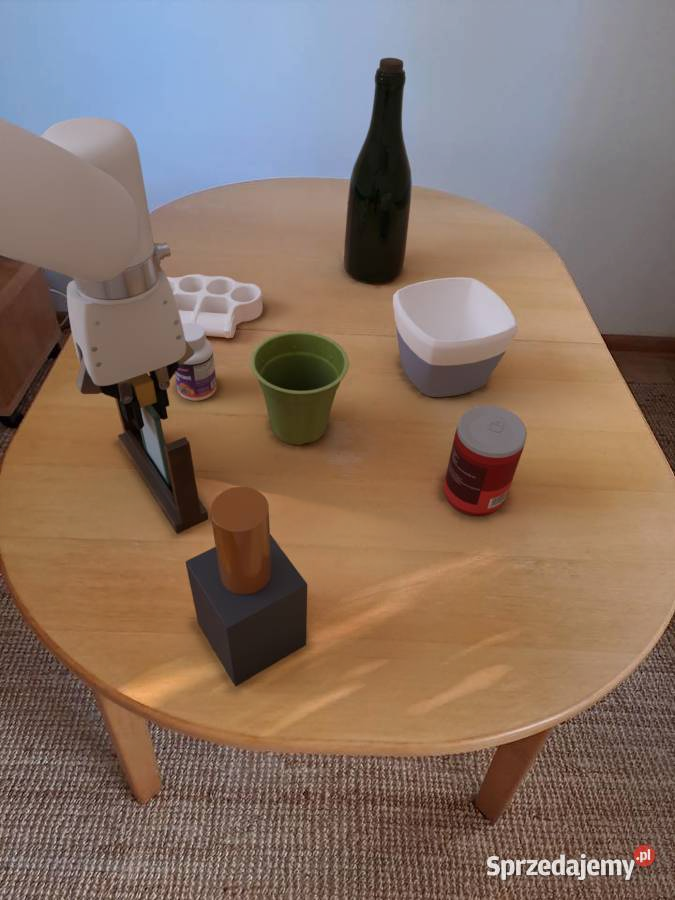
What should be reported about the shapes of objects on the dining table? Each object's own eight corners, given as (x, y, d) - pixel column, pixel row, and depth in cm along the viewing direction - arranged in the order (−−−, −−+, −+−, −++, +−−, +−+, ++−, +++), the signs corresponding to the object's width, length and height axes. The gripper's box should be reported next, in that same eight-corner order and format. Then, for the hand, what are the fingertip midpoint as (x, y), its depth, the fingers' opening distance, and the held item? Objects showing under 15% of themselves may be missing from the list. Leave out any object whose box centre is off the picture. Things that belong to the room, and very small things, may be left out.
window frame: (176, 534, 76) (159, 454, 66) (119, 443, 85) (98, 362, 76) (209, 519, 77) (196, 439, 68) (149, 432, 87) (131, 351, 78)
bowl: (464, 333, 105) (478, 270, 97) (514, 394, 95) (534, 330, 87) (374, 350, 101) (380, 285, 93) (416, 416, 91) (428, 350, 83)
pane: (163, 490, 78) (143, 399, 68) (139, 453, 82) (117, 362, 72) (179, 483, 79) (162, 393, 69) (155, 447, 83) (135, 356, 73)
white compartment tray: (134, 336, 101) (160, 283, 111) (253, 345, 101) (267, 292, 111) (130, 317, 99) (157, 265, 109) (252, 327, 98) (267, 274, 108)
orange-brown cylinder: (235, 603, 57) (227, 540, 51) (210, 565, 60) (200, 501, 54) (281, 579, 59) (279, 515, 53) (255, 543, 62) (250, 478, 55)
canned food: (508, 476, 84) (530, 412, 76) (501, 525, 79) (524, 460, 71) (448, 463, 85) (463, 398, 77) (437, 509, 80) (452, 444, 72)
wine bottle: (407, 260, 120) (434, 53, 96) (396, 290, 113) (422, 75, 89) (351, 250, 122) (363, 45, 98) (336, 280, 114) (346, 66, 91)
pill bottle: (170, 387, 93) (159, 329, 86) (202, 371, 96) (195, 314, 89) (191, 407, 91) (183, 349, 84) (224, 390, 93) (218, 333, 86)
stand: (235, 687, 64) (226, 628, 56) (198, 623, 68) (184, 561, 60) (306, 645, 67) (308, 584, 59) (266, 587, 71) (262, 523, 64)
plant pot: (250, 458, 84) (245, 390, 76) (258, 396, 93) (255, 328, 85) (344, 461, 85) (349, 394, 77) (344, 399, 93) (348, 332, 85)
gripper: (178, 230, 66) (198, 374, 80) (13, 273, 60) (65, 423, 73) (213, 264, 62) (228, 410, 75) (40, 314, 56) (89, 465, 69)
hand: (147, 415), depth 74 cm, fingers closed on pane, 2 cm apart
